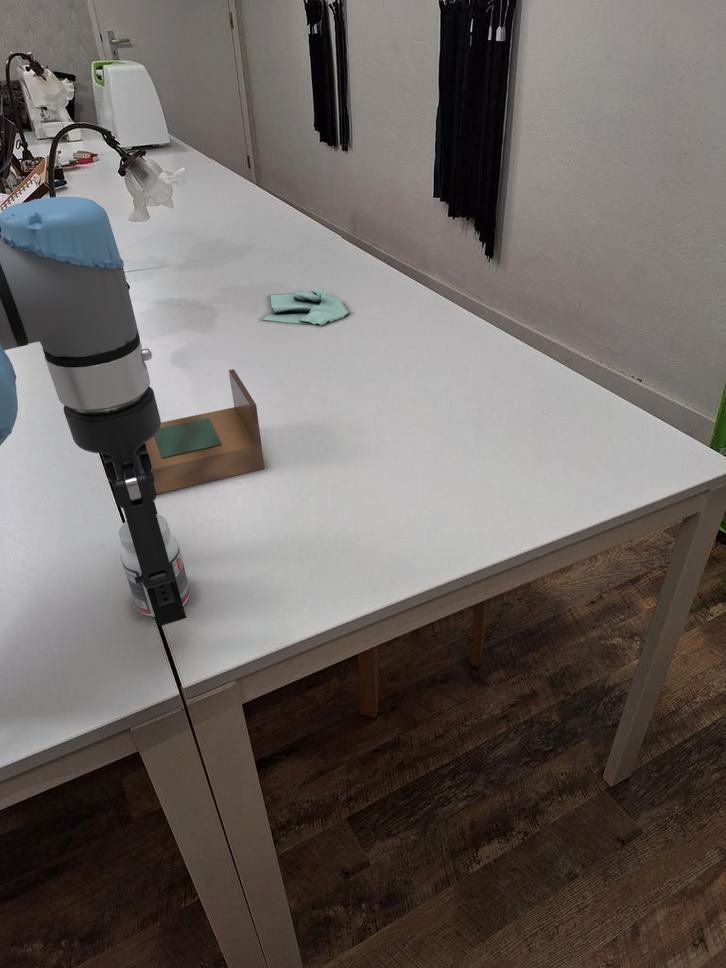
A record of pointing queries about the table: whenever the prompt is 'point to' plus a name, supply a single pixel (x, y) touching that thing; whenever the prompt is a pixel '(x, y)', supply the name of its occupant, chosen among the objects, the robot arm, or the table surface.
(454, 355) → the table surface
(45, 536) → the table surface
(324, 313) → the cloth
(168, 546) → the pill bottle
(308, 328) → the table surface
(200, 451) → the shelf
